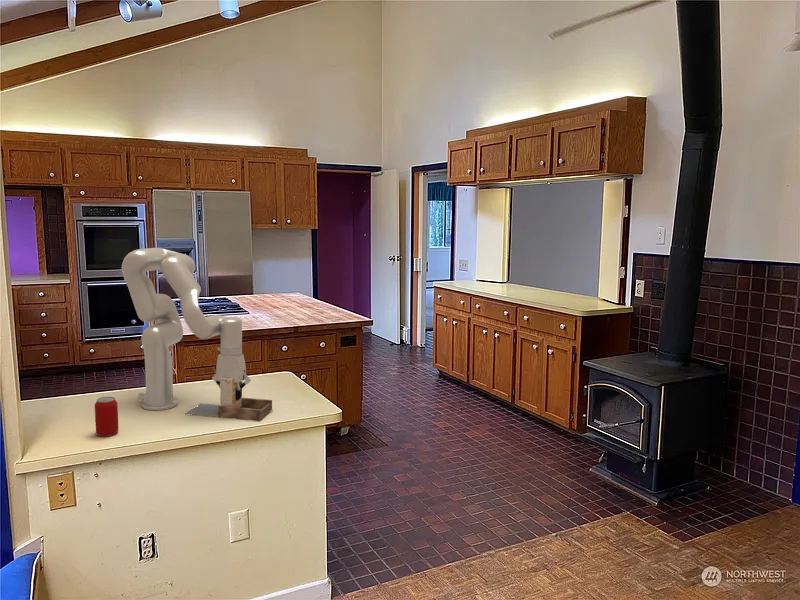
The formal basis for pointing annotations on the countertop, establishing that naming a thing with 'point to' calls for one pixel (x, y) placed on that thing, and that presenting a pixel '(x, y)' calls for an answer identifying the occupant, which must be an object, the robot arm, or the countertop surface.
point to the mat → (205, 410)
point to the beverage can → (106, 416)
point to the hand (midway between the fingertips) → (231, 398)
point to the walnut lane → (247, 409)
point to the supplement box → (228, 393)
